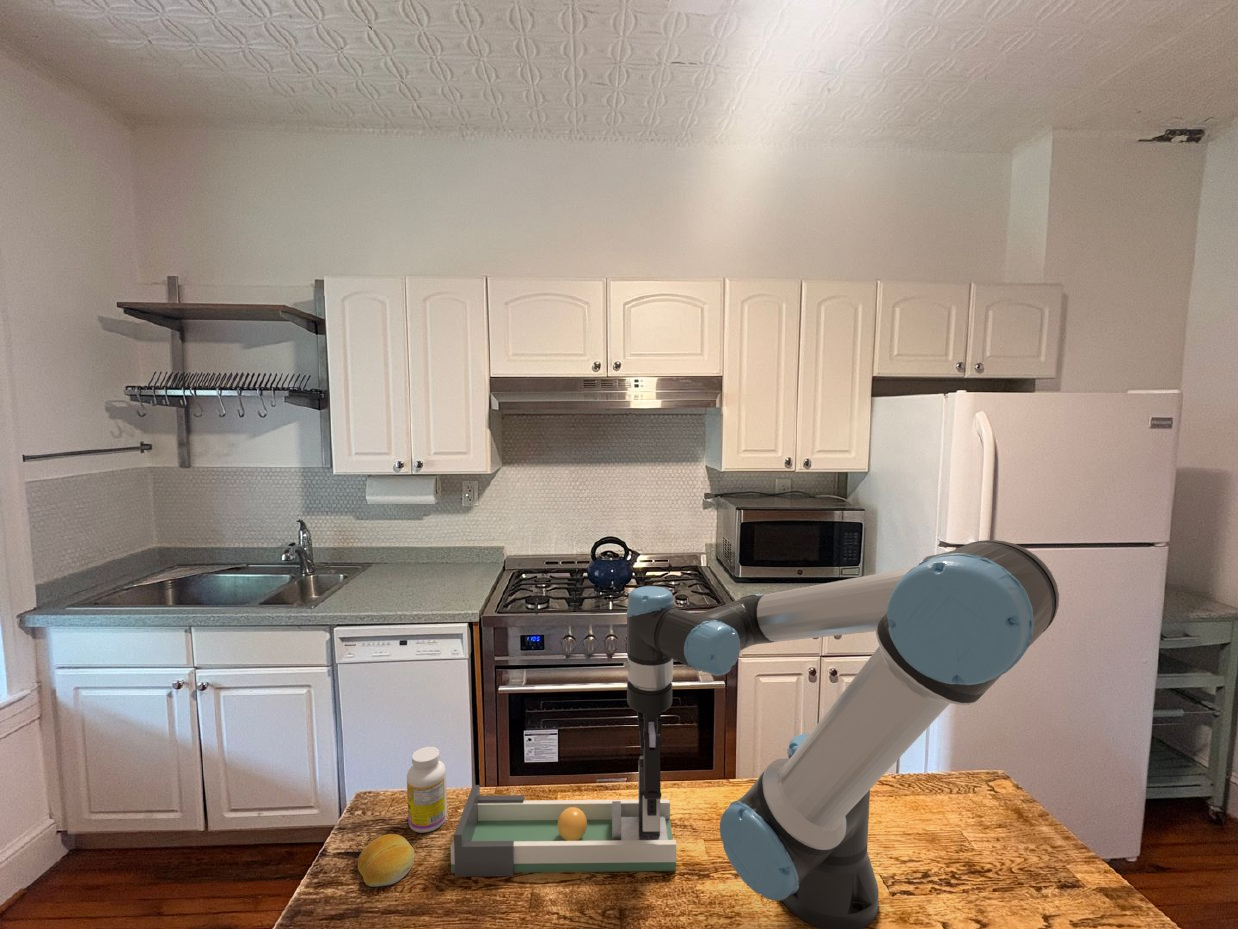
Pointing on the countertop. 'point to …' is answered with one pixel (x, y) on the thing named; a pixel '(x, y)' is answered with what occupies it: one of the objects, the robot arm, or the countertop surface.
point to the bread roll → (386, 860)
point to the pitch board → (592, 853)
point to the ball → (572, 824)
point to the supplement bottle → (426, 791)
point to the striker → (635, 819)
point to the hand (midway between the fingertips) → (649, 810)
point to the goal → (482, 854)
